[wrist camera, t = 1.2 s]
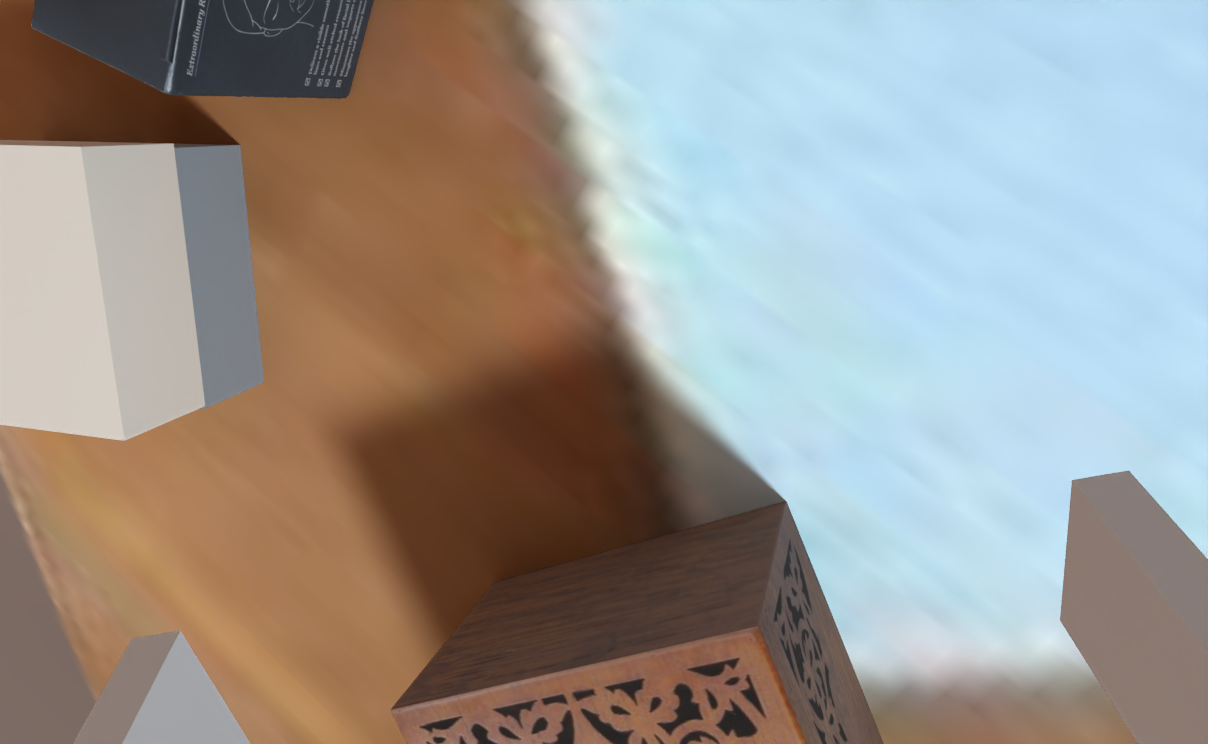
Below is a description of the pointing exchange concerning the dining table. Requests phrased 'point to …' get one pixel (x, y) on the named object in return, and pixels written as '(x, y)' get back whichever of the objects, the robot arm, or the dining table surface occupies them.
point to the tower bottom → (220, 268)
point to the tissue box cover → (650, 650)
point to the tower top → (94, 289)
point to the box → (218, 43)
